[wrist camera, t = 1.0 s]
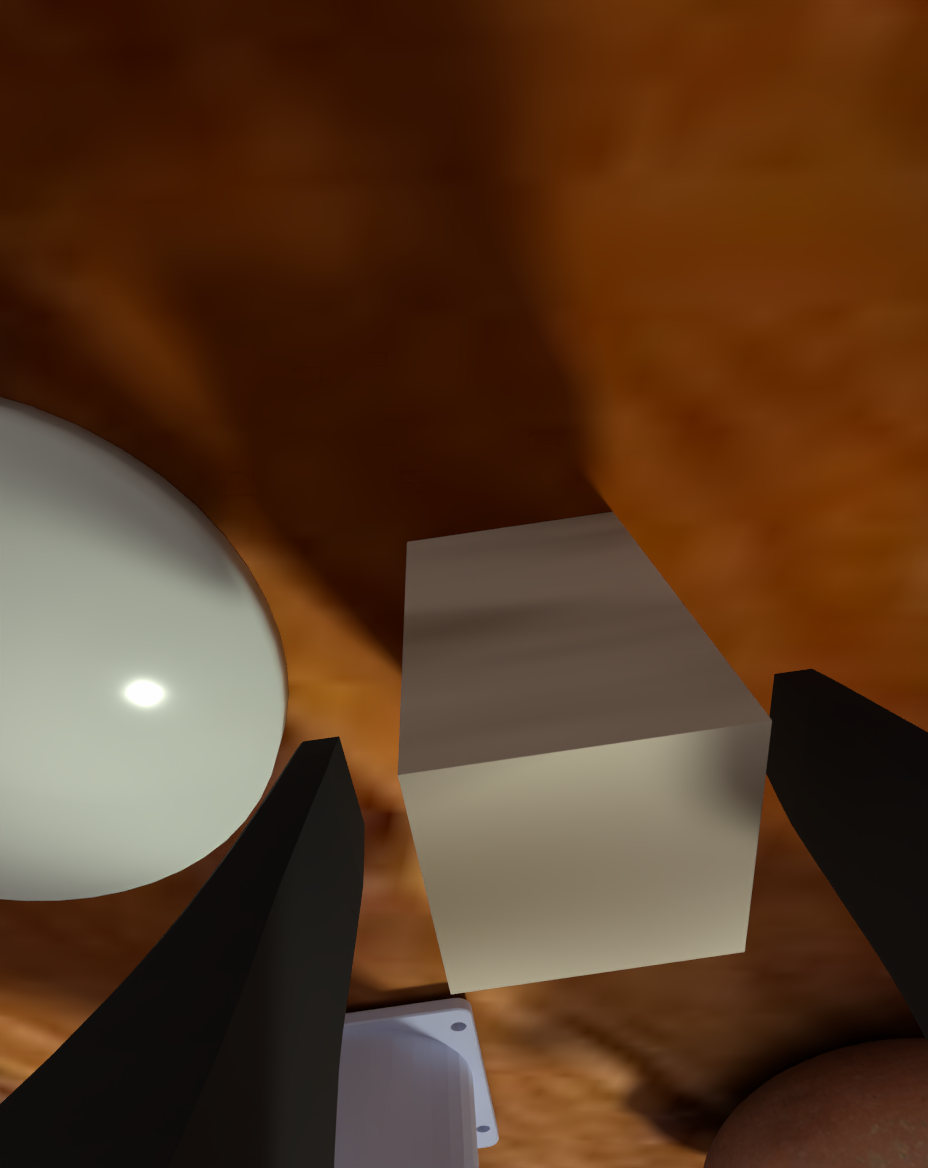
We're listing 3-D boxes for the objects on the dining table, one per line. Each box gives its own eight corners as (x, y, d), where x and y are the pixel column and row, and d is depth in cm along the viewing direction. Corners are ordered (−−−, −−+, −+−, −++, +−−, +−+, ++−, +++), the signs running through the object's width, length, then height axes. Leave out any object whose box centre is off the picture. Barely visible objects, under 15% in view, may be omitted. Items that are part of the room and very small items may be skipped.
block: (616, 679, 16) (744, 952, 10) (438, 705, 16) (450, 994, 10) (612, 511, 14) (772, 720, 8) (406, 541, 14) (397, 774, 8)
